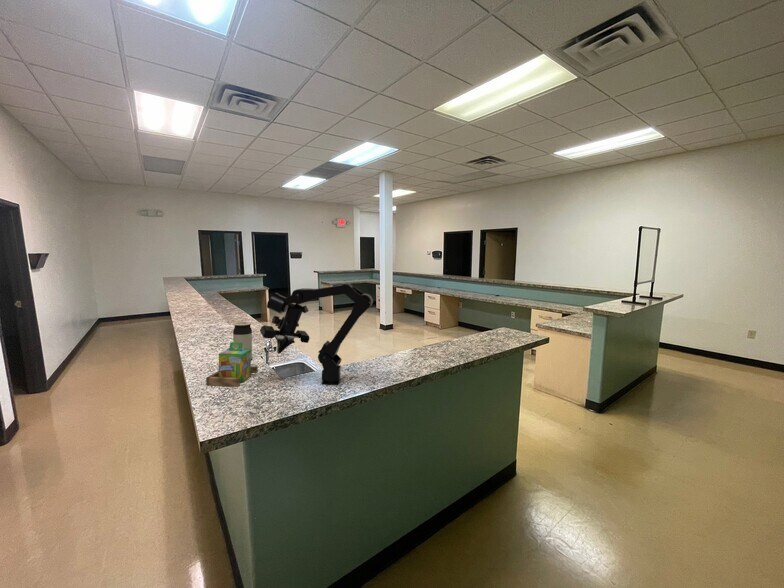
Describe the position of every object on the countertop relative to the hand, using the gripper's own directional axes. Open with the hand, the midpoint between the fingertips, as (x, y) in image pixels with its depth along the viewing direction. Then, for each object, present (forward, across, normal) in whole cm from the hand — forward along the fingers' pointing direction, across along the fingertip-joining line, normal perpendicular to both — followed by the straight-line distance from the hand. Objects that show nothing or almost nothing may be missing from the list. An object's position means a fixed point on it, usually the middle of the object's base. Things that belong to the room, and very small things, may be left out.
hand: (278, 353), depth 127 cm
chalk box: (+16, +11, -4) cm, 20 cm away
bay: (+16, +11, -5) cm, 20 cm away
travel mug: (+20, +2, -28) cm, 35 cm away
